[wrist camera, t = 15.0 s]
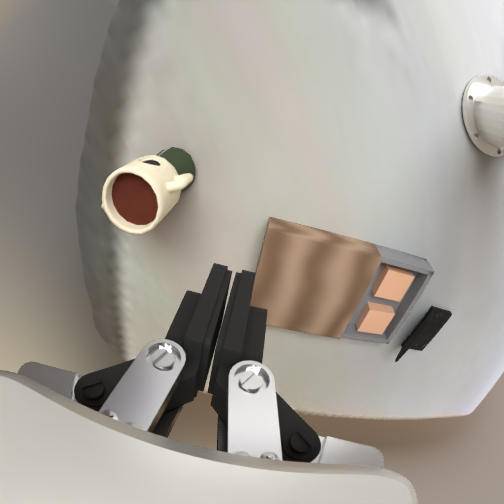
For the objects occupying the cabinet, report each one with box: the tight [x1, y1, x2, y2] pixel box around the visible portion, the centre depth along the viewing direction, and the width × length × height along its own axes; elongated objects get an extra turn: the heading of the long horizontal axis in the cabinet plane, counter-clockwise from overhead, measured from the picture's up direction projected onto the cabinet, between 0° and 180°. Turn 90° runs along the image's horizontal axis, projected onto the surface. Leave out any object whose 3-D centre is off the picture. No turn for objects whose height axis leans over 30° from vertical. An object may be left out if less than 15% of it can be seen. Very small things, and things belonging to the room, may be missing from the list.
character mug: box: [102, 147, 195, 234], centre depth 31 cm, size 11×7×13 cm, turn 103°
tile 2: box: [372, 263, 414, 302], centre depth 40 cm, size 5×5×2 cm
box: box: [341, 245, 434, 344], centre depth 42 cm, size 10×16×4 cm, turn 168°
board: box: [250, 217, 382, 338], centre depth 41 cm, size 16×16×4 cm
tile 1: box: [356, 302, 395, 335], centre depth 44 cm, size 5×5×2 cm
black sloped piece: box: [395, 306, 452, 362], centre depth 44 cm, size 12×7×10 cm
